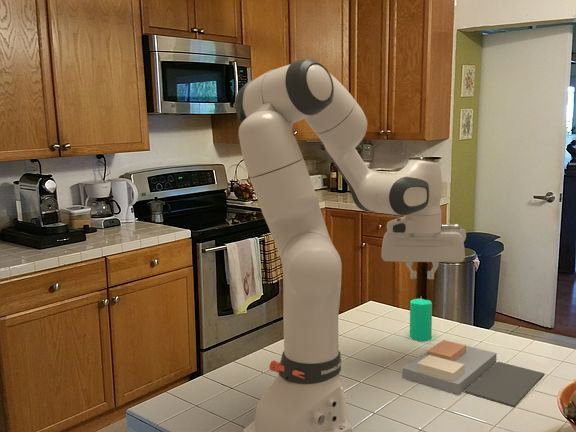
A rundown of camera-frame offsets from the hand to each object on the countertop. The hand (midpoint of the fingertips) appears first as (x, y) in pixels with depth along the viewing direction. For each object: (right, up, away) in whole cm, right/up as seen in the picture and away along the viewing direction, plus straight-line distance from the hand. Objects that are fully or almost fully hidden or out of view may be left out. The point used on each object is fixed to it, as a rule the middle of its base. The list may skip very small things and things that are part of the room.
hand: (422, 278), depth 143 cm
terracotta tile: (+6, -19, -2) cm, 20 cm away
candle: (+4, -19, +18) cm, 26 cm away
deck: (+6, -22, -4) cm, 23 cm away
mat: (+16, -23, -12) cm, 31 cm away
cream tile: (+2, -21, -11) cm, 23 cm away
